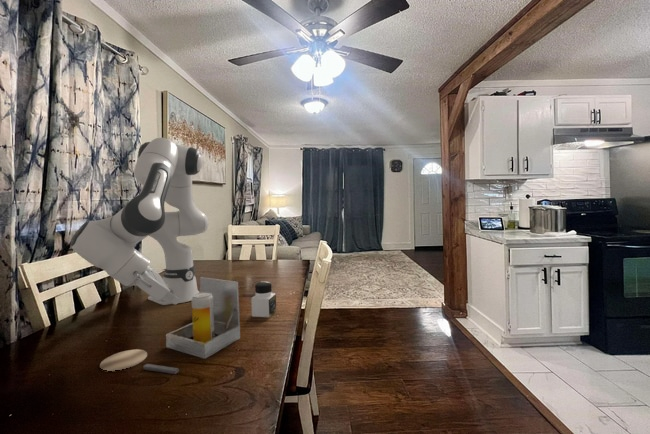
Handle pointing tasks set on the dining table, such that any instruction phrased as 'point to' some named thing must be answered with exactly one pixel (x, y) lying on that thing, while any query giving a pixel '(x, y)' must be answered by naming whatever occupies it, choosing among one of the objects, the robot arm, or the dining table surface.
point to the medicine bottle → (263, 300)
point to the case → (223, 321)
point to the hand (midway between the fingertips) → (174, 297)
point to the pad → (123, 360)
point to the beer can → (203, 317)
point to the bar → (161, 368)
